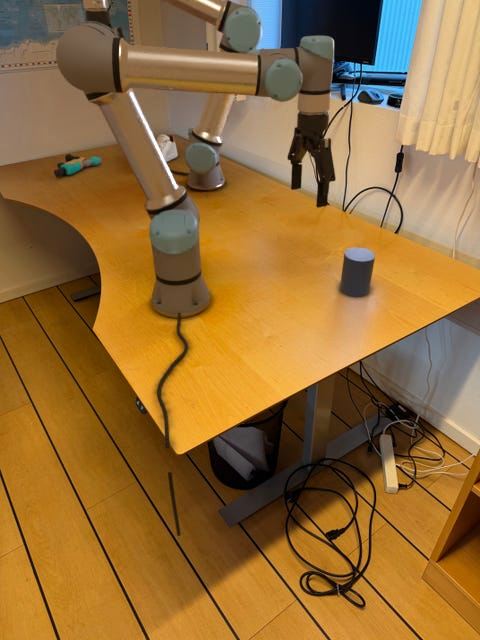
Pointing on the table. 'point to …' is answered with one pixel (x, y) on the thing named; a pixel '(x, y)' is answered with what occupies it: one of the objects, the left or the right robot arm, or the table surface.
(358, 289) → the can
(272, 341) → the table surface
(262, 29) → the right robot arm
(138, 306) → the table surface
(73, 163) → the toy gun
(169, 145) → the sneaker
